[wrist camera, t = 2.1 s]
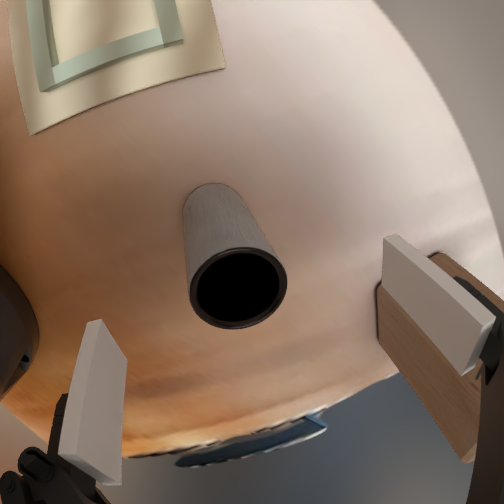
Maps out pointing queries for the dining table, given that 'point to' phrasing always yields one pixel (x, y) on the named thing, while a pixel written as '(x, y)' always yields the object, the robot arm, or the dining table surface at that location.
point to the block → (435, 366)
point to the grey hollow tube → (229, 261)
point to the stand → (104, 51)
